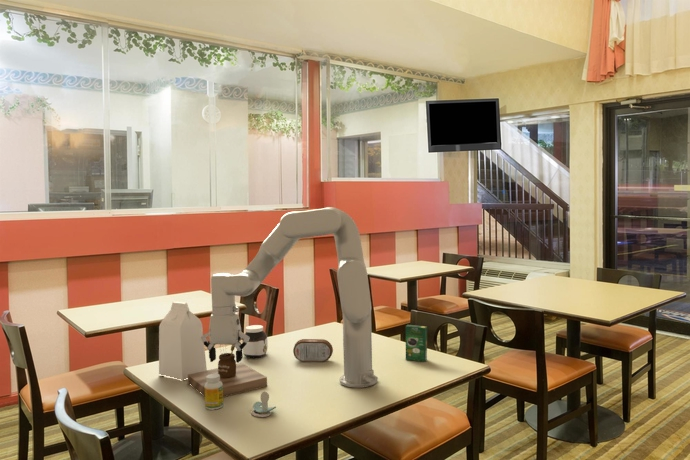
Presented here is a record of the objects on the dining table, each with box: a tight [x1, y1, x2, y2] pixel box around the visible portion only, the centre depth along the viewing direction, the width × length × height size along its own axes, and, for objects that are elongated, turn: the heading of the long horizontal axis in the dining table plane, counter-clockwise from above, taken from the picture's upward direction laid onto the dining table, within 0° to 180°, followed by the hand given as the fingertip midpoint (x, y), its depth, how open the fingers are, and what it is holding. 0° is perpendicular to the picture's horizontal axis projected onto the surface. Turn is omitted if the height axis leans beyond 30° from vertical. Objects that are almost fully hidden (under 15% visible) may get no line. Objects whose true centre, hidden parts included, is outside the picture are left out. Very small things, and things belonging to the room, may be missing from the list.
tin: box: [292, 338, 334, 363], centre depth 204 cm, size 15×3×8 cm, turn 84°
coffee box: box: [405, 324, 428, 362], centre depth 202 cm, size 8×3×13 cm, turn 67°
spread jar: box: [241, 324, 269, 360], centre depth 215 cm, size 12×11×12 cm
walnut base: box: [187, 362, 268, 398], centre depth 182 cm, size 20×20×3 cm
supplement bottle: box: [204, 374, 224, 411], centre depth 162 cm, size 5×5×10 cm
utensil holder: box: [217, 344, 237, 378], centre depth 181 cm, size 6×6×12 cm
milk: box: [158, 301, 208, 380], centre depth 193 cm, size 12×12×26 cm
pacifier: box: [250, 391, 277, 418], centre depth 156 cm, size 7×6×6 cm
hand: (226, 360), depth 181 cm, fingers open, 8 cm apart
